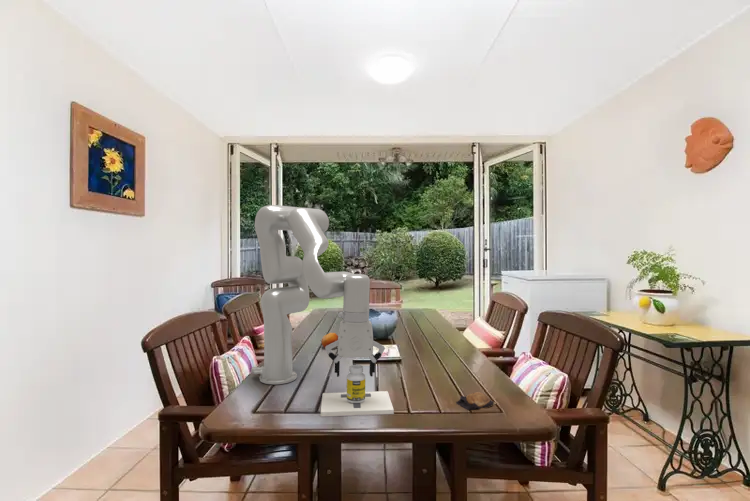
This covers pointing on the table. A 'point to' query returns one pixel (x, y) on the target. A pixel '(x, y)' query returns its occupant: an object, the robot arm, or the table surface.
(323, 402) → the board
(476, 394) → the cookie on black wrapper
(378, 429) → the table surface
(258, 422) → the table surface
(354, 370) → the supplement bottle
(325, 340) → the fruit
